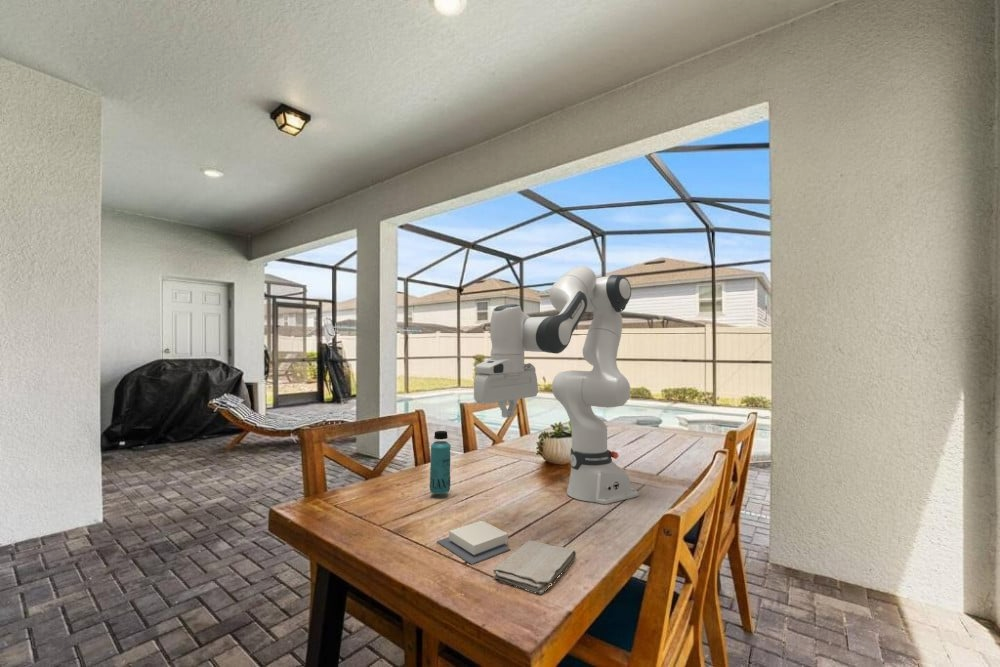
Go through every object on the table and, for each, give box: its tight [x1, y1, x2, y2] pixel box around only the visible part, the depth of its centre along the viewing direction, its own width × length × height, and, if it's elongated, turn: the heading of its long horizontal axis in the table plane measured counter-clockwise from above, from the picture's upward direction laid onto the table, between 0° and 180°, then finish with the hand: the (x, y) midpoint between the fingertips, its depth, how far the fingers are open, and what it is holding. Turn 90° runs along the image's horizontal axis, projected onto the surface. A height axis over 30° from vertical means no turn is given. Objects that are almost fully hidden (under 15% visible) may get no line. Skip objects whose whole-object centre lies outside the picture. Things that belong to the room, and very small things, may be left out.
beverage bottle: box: [429, 430, 452, 495], centre depth 139 cm, size 6×7×20 cm
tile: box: [448, 520, 509, 556], centre depth 105 cm, size 2×10×10 cm
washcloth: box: [493, 539, 576, 595], centre depth 94 cm, size 12×18×3 cm, turn 151°
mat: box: [436, 536, 511, 566], centre depth 104 cm, size 11×14×1 cm
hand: (507, 416), depth 118 cm, fingers closed
